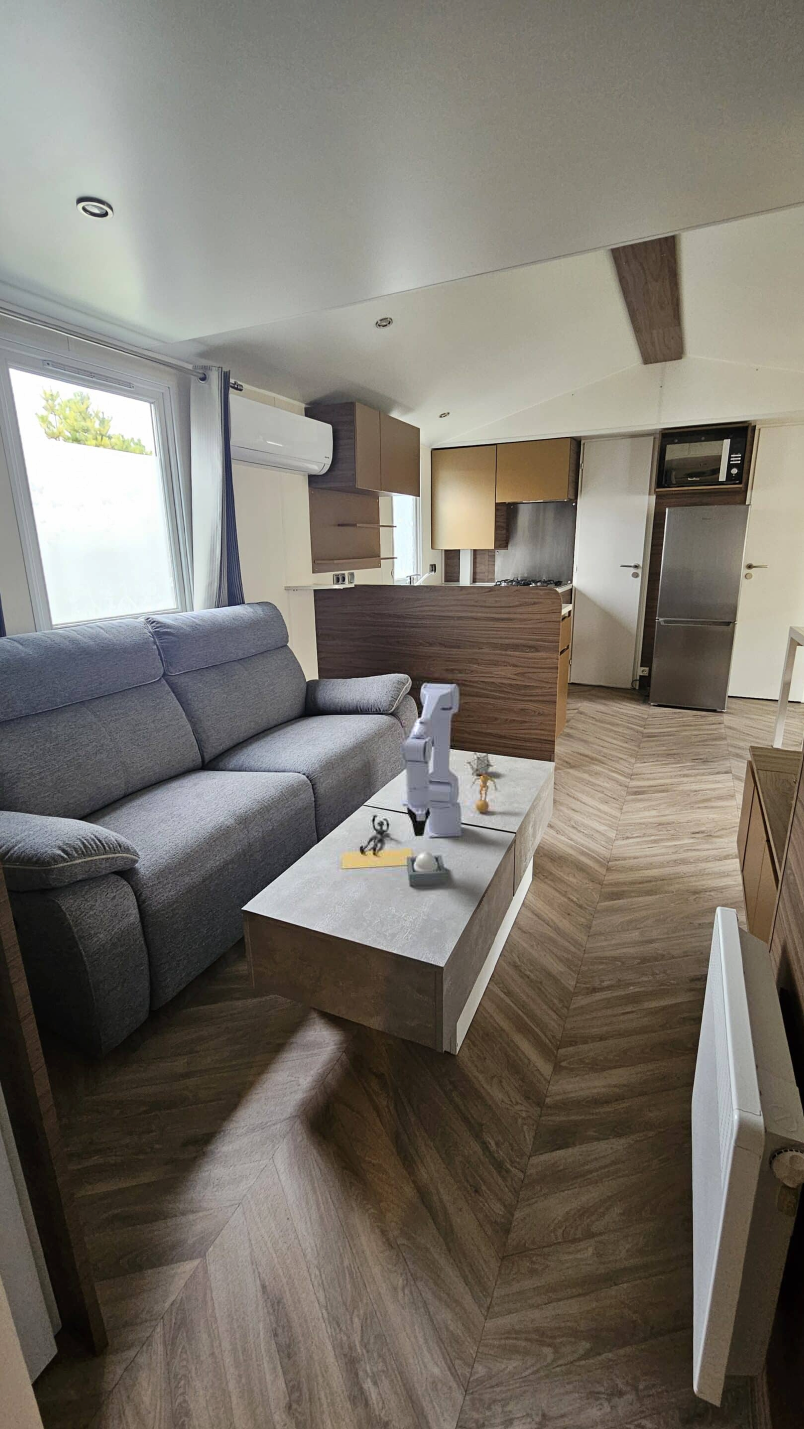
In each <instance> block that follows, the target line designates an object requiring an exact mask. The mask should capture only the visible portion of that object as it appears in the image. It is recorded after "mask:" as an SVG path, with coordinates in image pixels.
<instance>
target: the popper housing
mask: <svg viewBox="0 0 804 1429" xmlns="http://www.w3.org/2000/svg"><path fill="white" fill-rule="evenodd" d="M433 856H434V858H435V860H436V862H437V864H438V871H427V872H414V863H415V862H416V858H417V857H418V855H417V856H416V855H415V856H413V857H407V865H406V871H407V878H408V884H409V885H408V886H409V887H420V886H422V887H423V886H435V885H436V886H437V885H446V884H447V874H446V873H447V872H446V868H445V864H444V860H443V857H442V854H438V855H437V854H436V855H433Z"/></svg>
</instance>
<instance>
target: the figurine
mask: <svg viewBox="0 0 804 1429" xmlns="http://www.w3.org/2000/svg"><path fill="white" fill-rule="evenodd" d="M478 780H480V781H481V784H480V785H479V791H478V793H479V795H480V797H479V800H478V801H477V802H476V803H475V804H476V805H475V808H476V810H477V811H478V812H479V813H486V812H487V811H488V810H489V808H490V806H489V803H488V801H487V796H488V791H489V790H488V789H489V785H487V784H488V782H489V781H490V782H493V785H494V790H495V792H497V791H498V789H497V785H496V781H495V780H494V779H492V778H491V777H490V776H489V775H488V774H487V773H486V774H483V775H481V776H478V777H476V778H474V780H473V782H472V784H470V789H472V788H473V786H474V784H475V783H476V781H478ZM483 791H484V795H485V796H484V799H483V793H482V792H483Z"/></svg>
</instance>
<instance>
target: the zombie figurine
mask: <svg viewBox="0 0 804 1429" xmlns="http://www.w3.org/2000/svg"><path fill="white" fill-rule="evenodd" d="M376 818H378V815H377V814H372V819H371V823H372V828H373V831H375V834H373V835H372V836H371V837H369V838H368V841H366V842H367V843H366V845H360V846H359V852H361V854H363V853H364V851H366V849H367V848H368V846H369V845H370V844H371V842H373V841H375V842H374V846H372V851H373V855H375V854H376V851H378V850H377V849H378V847H379V846H378V845H379V841H382V840H383V835H384V834H385V833H388V830H389V828H390V822H389V821H388V819H387V818H382V819H383V820H379V821H378V822H377V824H375V822H376ZM385 822H386V829H383V827H384V826H385V824H384V823H385ZM376 826H377V828H376Z"/></svg>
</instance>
